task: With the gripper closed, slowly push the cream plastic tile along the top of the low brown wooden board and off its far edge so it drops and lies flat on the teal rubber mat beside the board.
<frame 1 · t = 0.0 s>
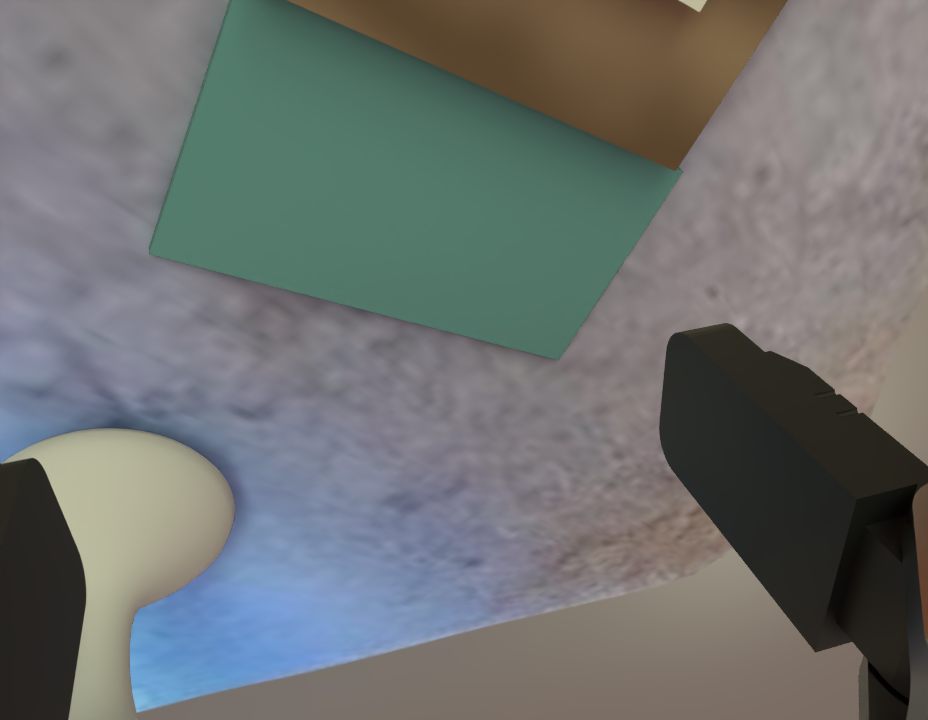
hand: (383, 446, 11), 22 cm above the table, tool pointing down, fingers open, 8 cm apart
mat: (431, 204, 34), on the table
flower in vase: (93, 487, 39), on the table
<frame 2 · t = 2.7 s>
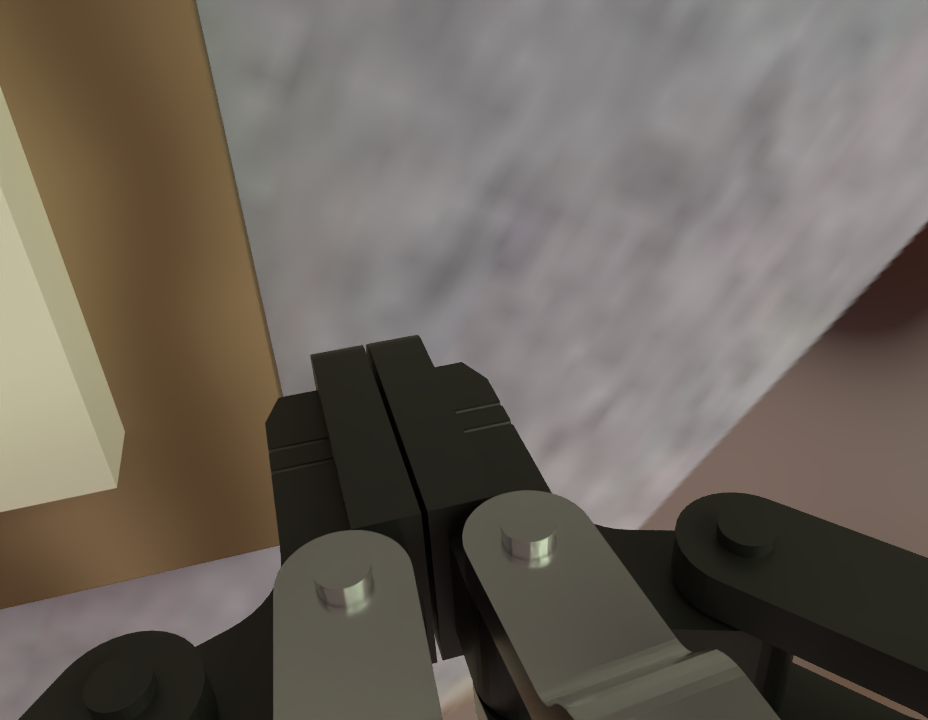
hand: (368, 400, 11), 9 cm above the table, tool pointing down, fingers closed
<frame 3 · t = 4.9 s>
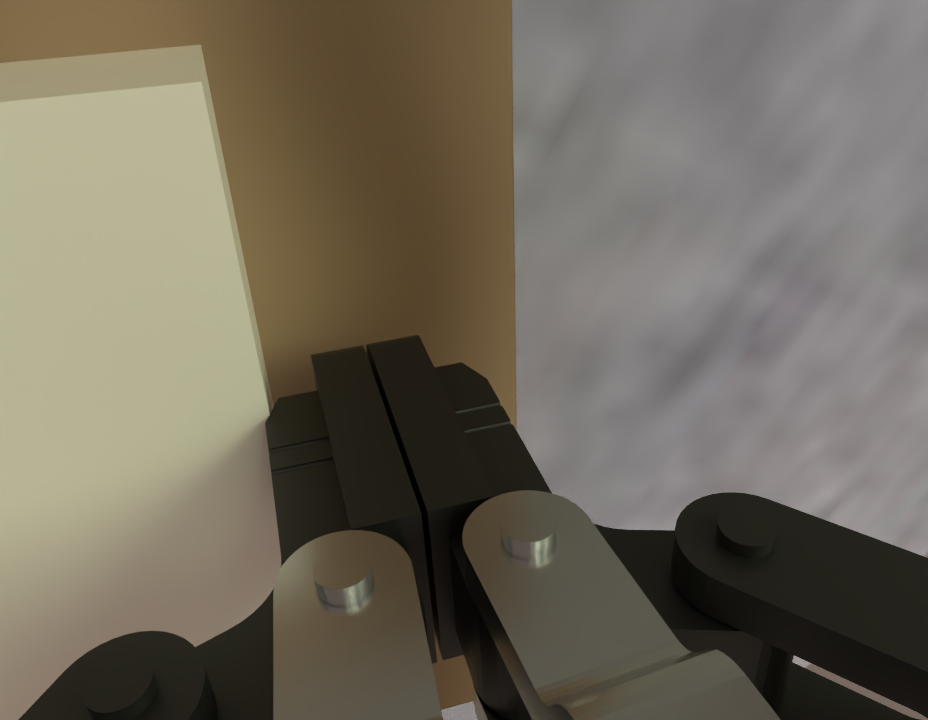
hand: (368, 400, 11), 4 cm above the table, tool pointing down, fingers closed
tile: (7, 413, 11), point 3 cm above the table, touching gripper
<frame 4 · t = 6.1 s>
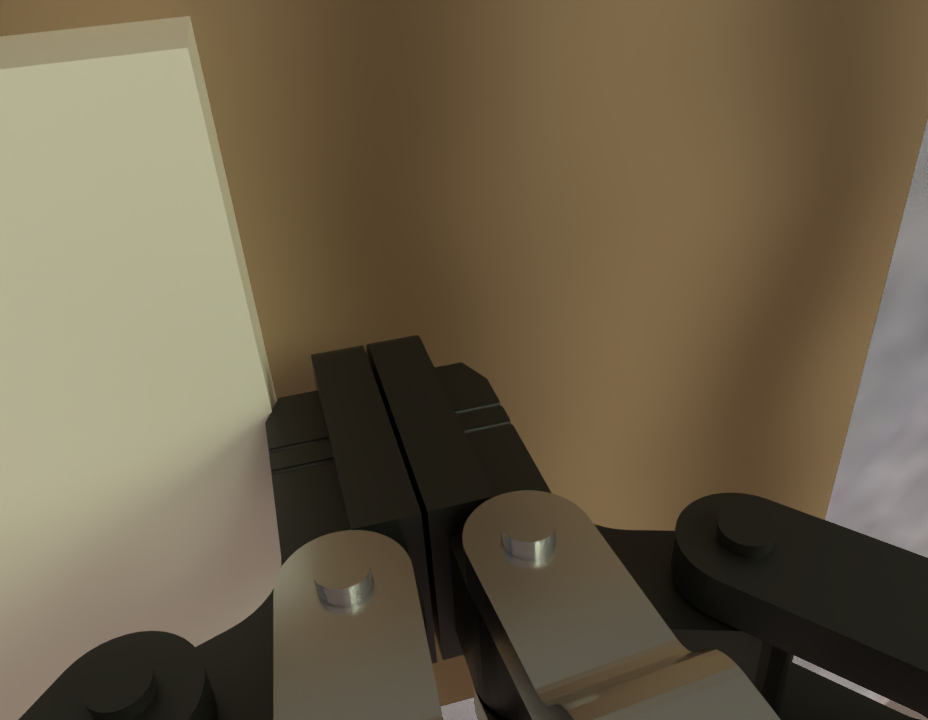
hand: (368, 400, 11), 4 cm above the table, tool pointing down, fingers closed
tile: (6, 395, 11), point 2 cm above the table, touching brown wooden board, gripper
brown wooden board: (413, 264, 15), on the table
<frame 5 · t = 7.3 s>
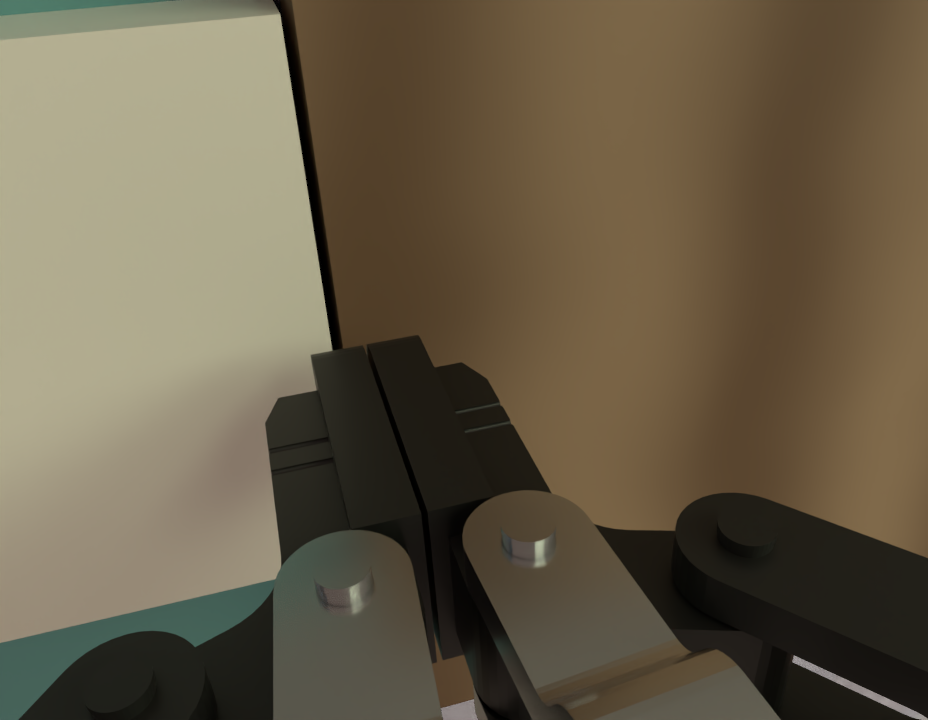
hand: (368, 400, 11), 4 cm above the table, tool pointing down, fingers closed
tile: (95, 318, 13), resting on mat
brown wooden board: (732, 216, 16), on the table
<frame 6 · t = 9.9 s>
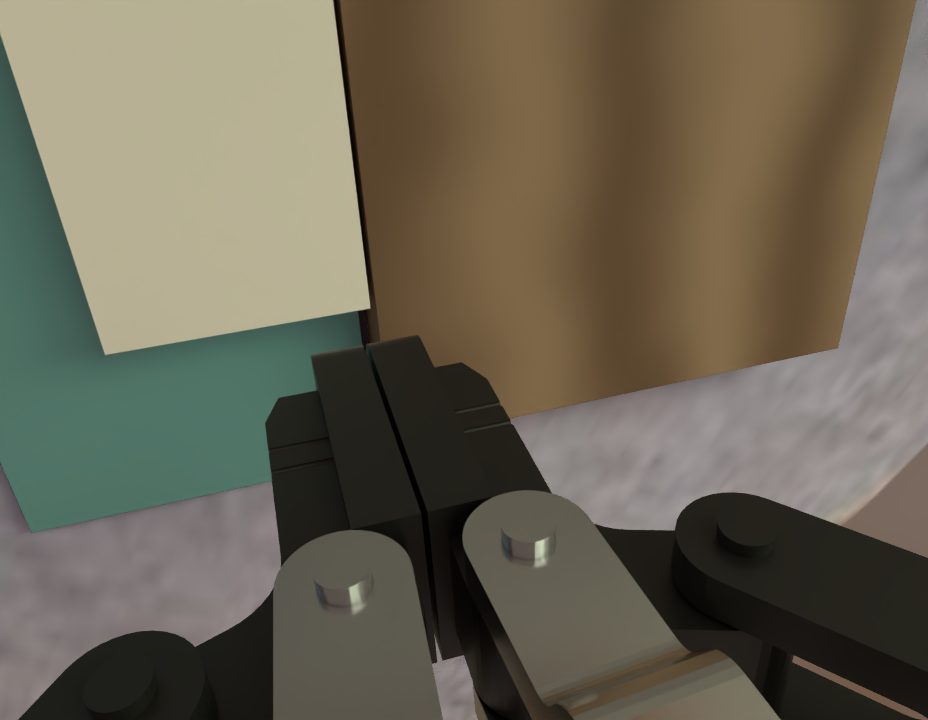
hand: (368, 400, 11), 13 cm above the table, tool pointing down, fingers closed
mat: (132, 196, 22), on the table
tile: (205, 144, 21), resting on mat
brown wooden board: (609, 97, 24), on the table
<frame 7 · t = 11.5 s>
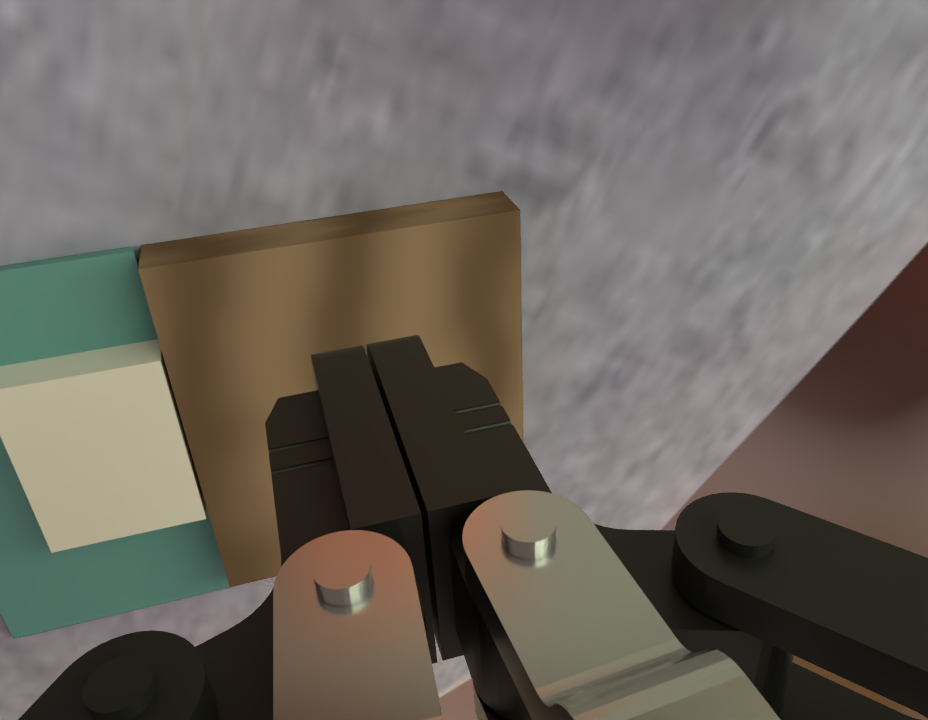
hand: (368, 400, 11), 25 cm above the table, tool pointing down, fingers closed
mat: (68, 459, 38), on the table
tile: (107, 435, 38), resting on mat
brown wooden board: (354, 386, 41), on the table
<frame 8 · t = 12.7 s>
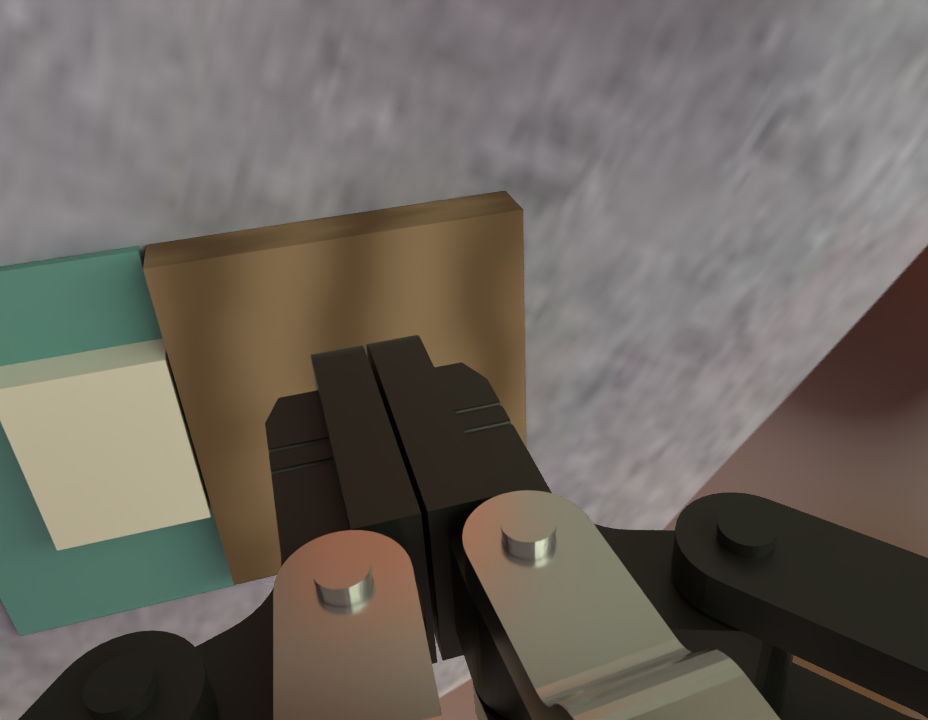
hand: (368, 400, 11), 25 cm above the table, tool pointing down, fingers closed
mat: (73, 458, 39), on the table
tile: (112, 434, 38), resting on mat
brown wooden board: (358, 385, 41), on the table
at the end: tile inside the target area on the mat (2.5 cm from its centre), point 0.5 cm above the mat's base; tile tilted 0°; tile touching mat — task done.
